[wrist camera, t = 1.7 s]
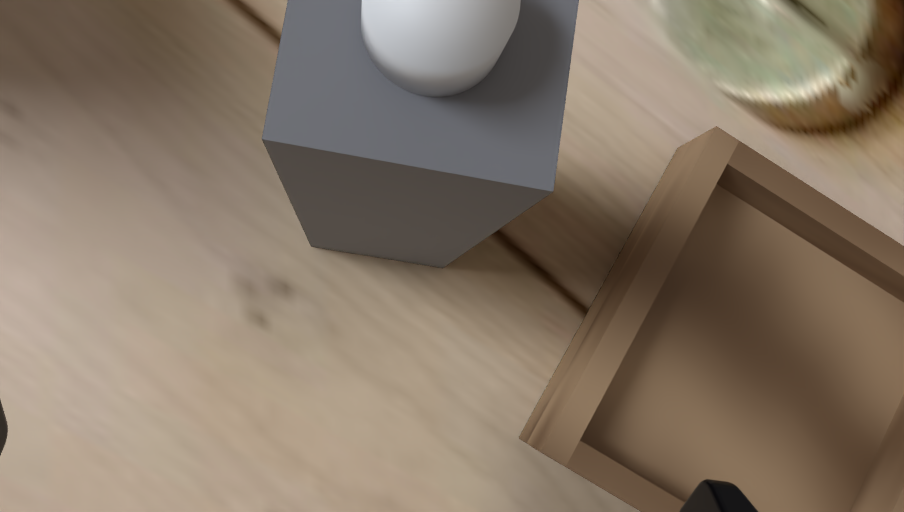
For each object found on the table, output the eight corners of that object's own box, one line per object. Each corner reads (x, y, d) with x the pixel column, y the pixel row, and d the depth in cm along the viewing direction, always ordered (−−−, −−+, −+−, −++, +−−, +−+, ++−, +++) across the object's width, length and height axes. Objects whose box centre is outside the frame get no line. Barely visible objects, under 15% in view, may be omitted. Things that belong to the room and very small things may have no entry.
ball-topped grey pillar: (442, 267, 22) (575, 176, 9) (310, 246, 21) (251, 116, 8) (461, 141, 22) (613, -117, 9) (333, 117, 22) (309, -190, 9)
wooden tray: (806, 608, 22) (863, 643, 20) (518, 437, 21) (540, 451, 19) (940, 314, 24) (1008, 313, 21) (677, 148, 23) (716, 126, 21)
